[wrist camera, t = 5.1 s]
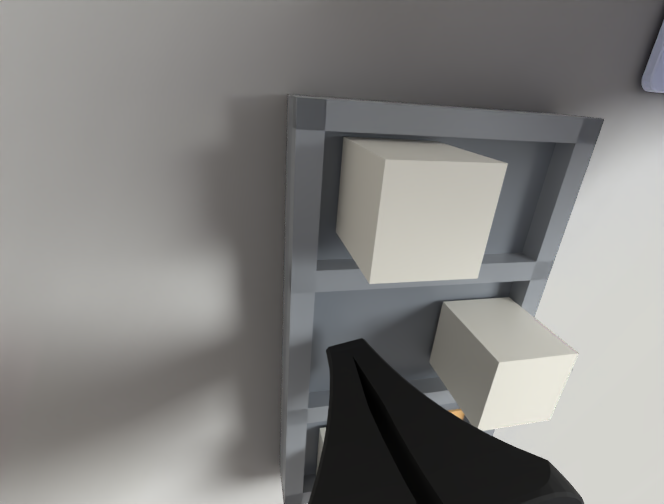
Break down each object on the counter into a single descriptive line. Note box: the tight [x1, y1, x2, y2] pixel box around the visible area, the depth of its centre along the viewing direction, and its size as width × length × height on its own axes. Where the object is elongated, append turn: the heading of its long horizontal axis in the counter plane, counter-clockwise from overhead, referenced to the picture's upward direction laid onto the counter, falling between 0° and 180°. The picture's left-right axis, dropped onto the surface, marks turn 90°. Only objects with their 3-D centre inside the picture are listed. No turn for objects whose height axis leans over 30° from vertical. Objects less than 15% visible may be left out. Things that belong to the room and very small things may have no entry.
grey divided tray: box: [280, 94, 604, 504], centre depth 15 cm, size 10×17×2 cm, turn 176°
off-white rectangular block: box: [336, 137, 508, 284], centre depth 10 cm, size 3×3×4 cm
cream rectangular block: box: [429, 297, 579, 431], centre depth 14 cm, size 3×3×4 cm
